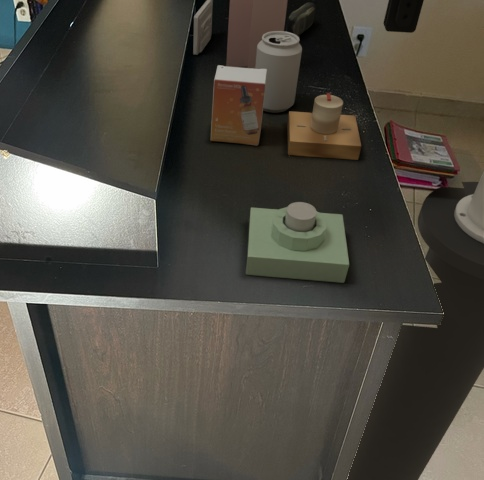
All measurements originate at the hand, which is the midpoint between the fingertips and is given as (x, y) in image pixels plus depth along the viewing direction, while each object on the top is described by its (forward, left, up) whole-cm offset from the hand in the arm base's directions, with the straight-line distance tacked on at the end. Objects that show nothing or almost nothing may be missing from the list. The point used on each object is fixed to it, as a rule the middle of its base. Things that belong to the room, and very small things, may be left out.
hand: (398, 28), depth 62 cm
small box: (+17, -20, -25) cm, 36 cm away
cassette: (+26, -58, -25) cm, 68 cm away
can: (+11, -32, -25) cm, 42 cm away
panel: (+3, -20, -25) cm, 32 cm away
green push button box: (+8, +9, -25) cm, 28 cm away
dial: (+3, -20, -23) cm, 30 cm away
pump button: (+8, +9, -21) cm, 24 cm away
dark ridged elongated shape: (+6, -68, -25) cm, 73 cm away
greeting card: (+14, -46, -25) cm, 54 cm away
